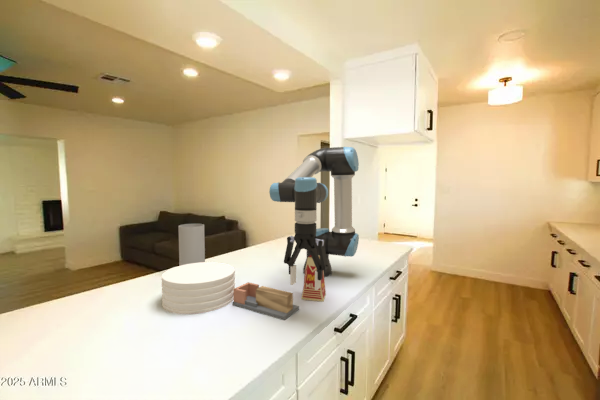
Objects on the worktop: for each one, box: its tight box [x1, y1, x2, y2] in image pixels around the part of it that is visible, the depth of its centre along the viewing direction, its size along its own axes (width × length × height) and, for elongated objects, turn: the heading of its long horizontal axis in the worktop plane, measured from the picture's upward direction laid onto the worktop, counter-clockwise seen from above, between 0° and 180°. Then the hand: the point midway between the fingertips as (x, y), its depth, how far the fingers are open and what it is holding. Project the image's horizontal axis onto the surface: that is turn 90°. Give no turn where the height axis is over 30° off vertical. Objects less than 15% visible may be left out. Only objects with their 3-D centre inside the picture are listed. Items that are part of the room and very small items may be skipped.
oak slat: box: [256, 285, 294, 313], centre depth 109 cm, size 4×14×6 cm, turn 60°
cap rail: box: [232, 282, 300, 321], centre depth 111 cm, size 10×24×6 cm, turn 60°
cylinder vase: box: [178, 223, 206, 266], centre depth 152 cm, size 12×12×25 cm
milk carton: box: [301, 255, 327, 302], centre depth 121 cm, size 9×9×20 cm
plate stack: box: [161, 261, 236, 315], centre depth 119 cm, size 28×28×12 cm
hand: (305, 286), depth 102 cm, fingers open, 9 cm apart
